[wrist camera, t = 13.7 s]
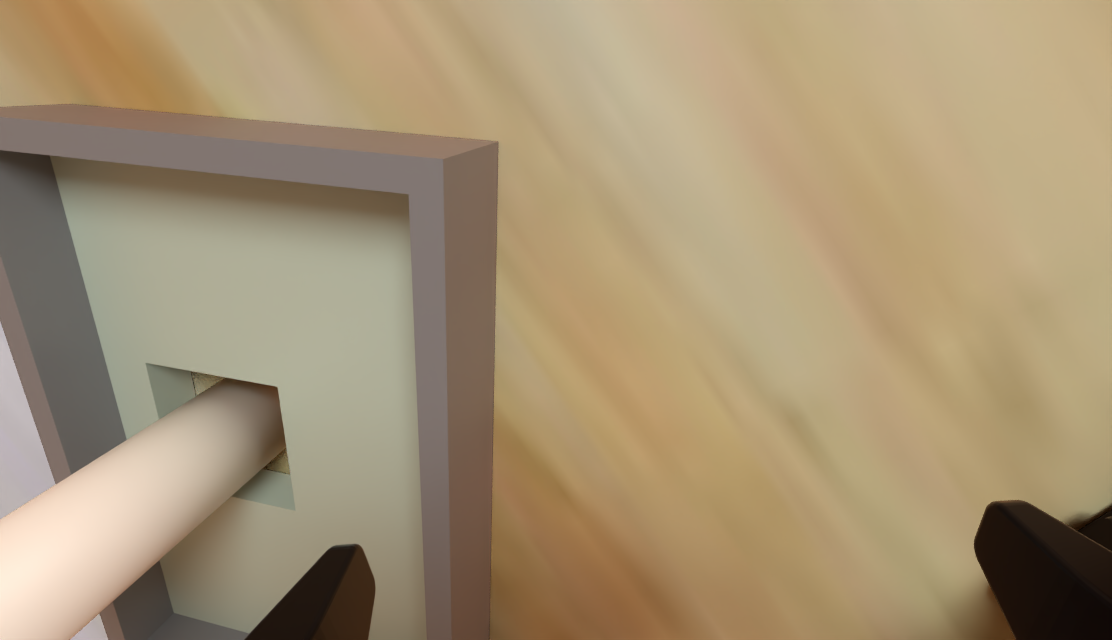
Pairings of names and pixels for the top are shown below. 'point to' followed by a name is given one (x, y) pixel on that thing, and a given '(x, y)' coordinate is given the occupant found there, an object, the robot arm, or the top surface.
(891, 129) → the top surface
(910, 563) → the top surface
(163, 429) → the peg
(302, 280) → the tray
